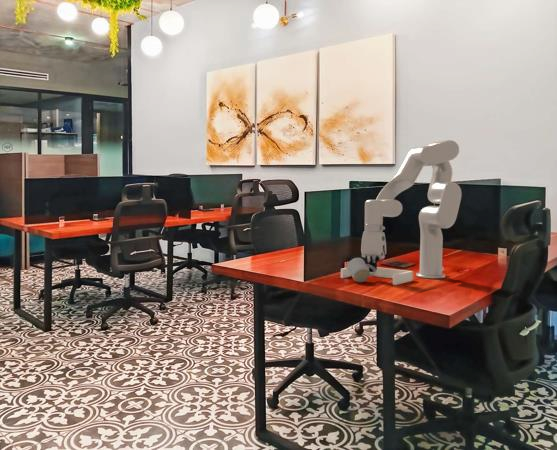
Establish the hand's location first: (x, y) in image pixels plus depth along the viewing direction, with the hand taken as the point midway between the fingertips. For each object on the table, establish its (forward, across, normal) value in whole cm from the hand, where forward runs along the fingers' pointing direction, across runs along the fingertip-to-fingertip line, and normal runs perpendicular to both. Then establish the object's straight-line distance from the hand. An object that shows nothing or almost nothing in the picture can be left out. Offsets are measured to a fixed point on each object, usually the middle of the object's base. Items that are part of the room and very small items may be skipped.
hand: (372, 271), depth 217 cm
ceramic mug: (+4, +1, +7) cm, 8 cm away
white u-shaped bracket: (+4, 0, -1) cm, 4 cm away
